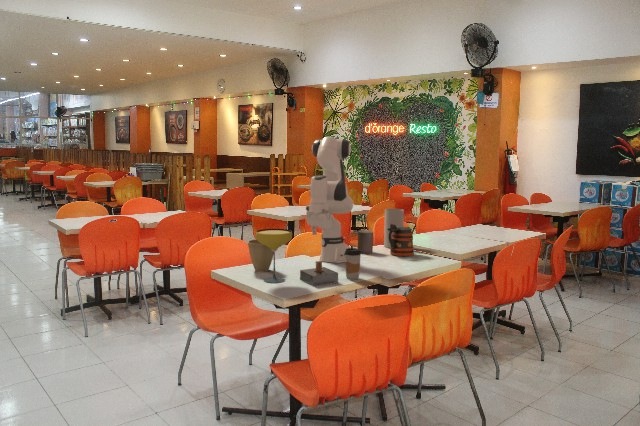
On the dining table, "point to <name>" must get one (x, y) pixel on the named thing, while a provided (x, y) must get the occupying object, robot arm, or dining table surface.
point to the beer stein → (401, 241)
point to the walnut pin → (318, 266)
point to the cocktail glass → (274, 245)
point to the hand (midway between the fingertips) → (319, 236)
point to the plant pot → (260, 255)
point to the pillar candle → (365, 241)
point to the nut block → (318, 276)
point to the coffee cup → (352, 263)
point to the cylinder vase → (392, 222)
